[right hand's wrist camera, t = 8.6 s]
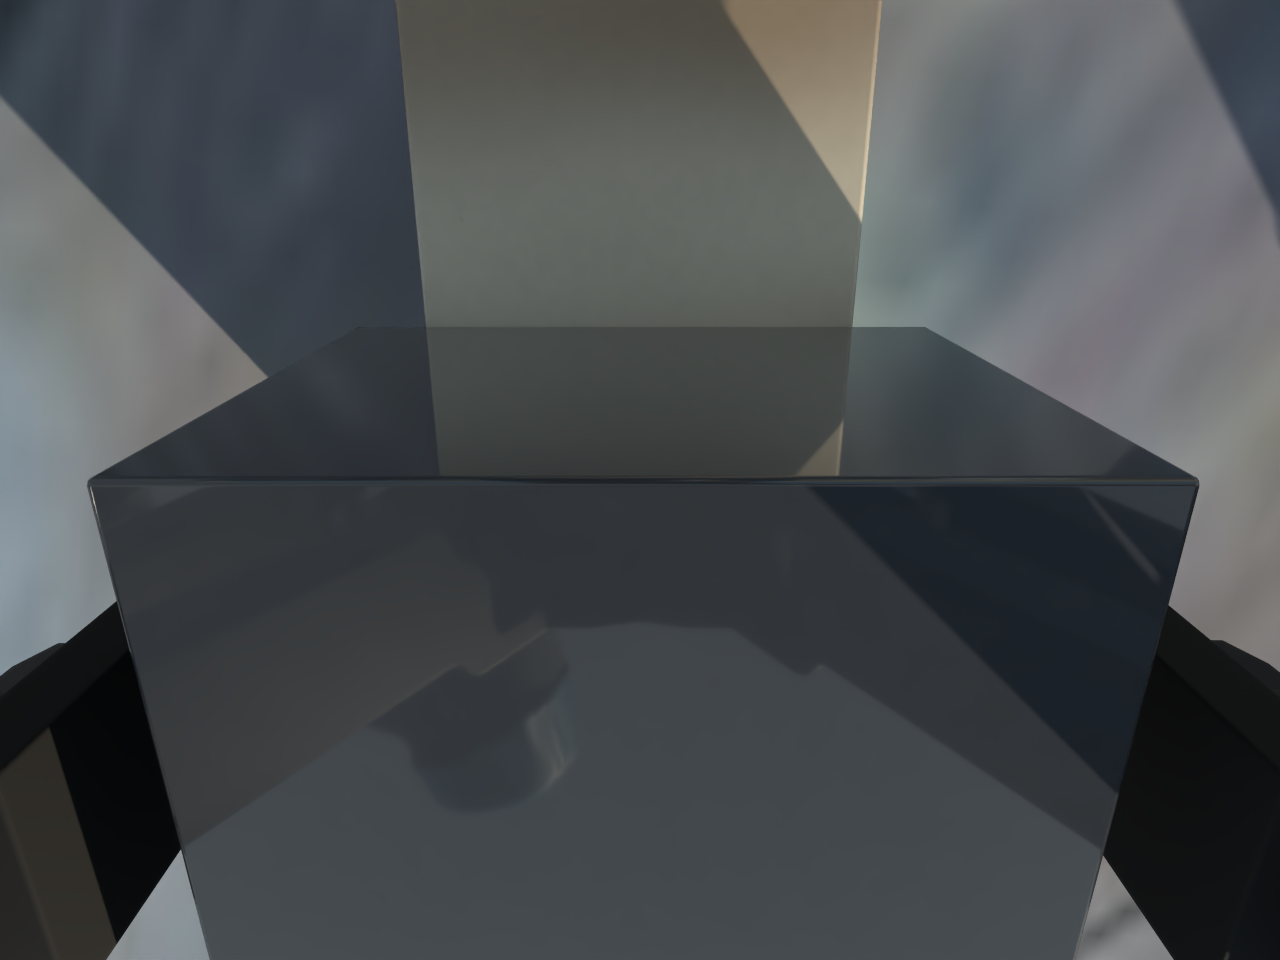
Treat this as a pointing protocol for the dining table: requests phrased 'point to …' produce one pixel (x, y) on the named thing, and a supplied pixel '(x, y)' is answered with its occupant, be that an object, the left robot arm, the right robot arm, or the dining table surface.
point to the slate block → (642, 646)
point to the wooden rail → (638, 159)
